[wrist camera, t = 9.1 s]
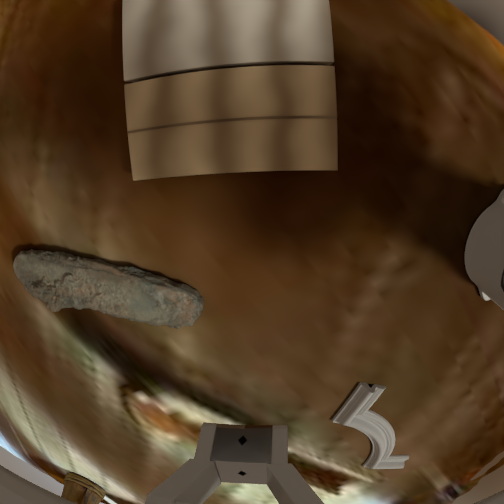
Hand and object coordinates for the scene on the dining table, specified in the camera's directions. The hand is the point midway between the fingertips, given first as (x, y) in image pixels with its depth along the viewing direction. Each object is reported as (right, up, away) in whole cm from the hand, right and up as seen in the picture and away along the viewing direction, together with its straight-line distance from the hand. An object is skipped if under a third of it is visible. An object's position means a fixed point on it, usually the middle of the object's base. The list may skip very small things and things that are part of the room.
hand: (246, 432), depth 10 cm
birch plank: (-3, +33, +20) cm, 39 cm away
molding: (+29, -33, +47) cm, 65 cm away
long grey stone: (-24, +2, +36) cm, 43 cm away
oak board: (-2, +22, +25) cm, 33 cm away
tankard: (-66, -86, +77) cm, 133 cm away
